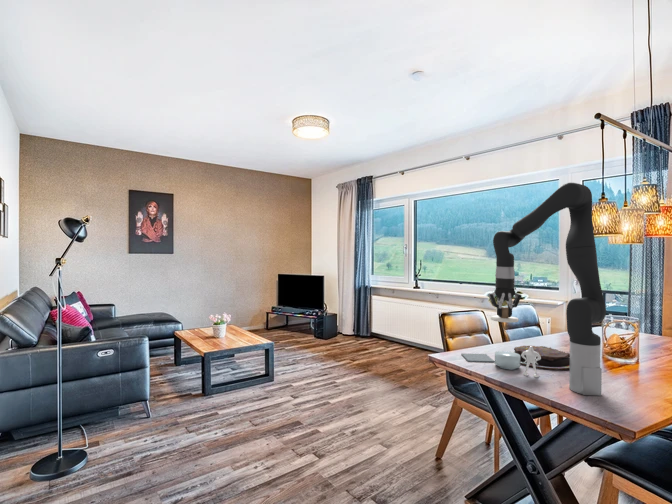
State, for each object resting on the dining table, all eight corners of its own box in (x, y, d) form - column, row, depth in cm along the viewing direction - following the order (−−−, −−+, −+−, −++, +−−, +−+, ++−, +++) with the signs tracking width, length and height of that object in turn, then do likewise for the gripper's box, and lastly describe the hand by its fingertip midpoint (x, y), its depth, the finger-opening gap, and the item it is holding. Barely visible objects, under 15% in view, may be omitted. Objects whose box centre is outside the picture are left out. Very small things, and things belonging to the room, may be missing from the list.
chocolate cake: (525, 350, 189) (525, 337, 189) (588, 363, 167) (588, 349, 167) (495, 359, 173) (495, 345, 173) (560, 375, 150) (560, 359, 150)
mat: (494, 362, 167) (494, 361, 167) (468, 361, 167) (468, 360, 167) (486, 355, 178) (486, 354, 178) (461, 354, 179) (461, 353, 179)
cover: (522, 322, 156) (523, 309, 156) (495, 322, 156) (496, 309, 156) (512, 317, 167) (512, 305, 167) (487, 317, 167) (487, 305, 167)
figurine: (541, 375, 149) (541, 346, 149) (540, 379, 145) (540, 348, 145) (521, 372, 152) (521, 343, 152) (520, 375, 149) (520, 345, 149)
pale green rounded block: (524, 371, 155) (524, 357, 155) (499, 370, 156) (499, 357, 156) (514, 363, 165) (514, 351, 165) (491, 363, 166) (491, 350, 166)
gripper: (491, 277, 158) (490, 318, 158) (525, 278, 157) (525, 318, 157) (485, 276, 166) (485, 315, 166) (518, 276, 165) (517, 315, 165)
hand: (504, 316), depth 161 cm, fingers closed on cover, 3 cm apart
